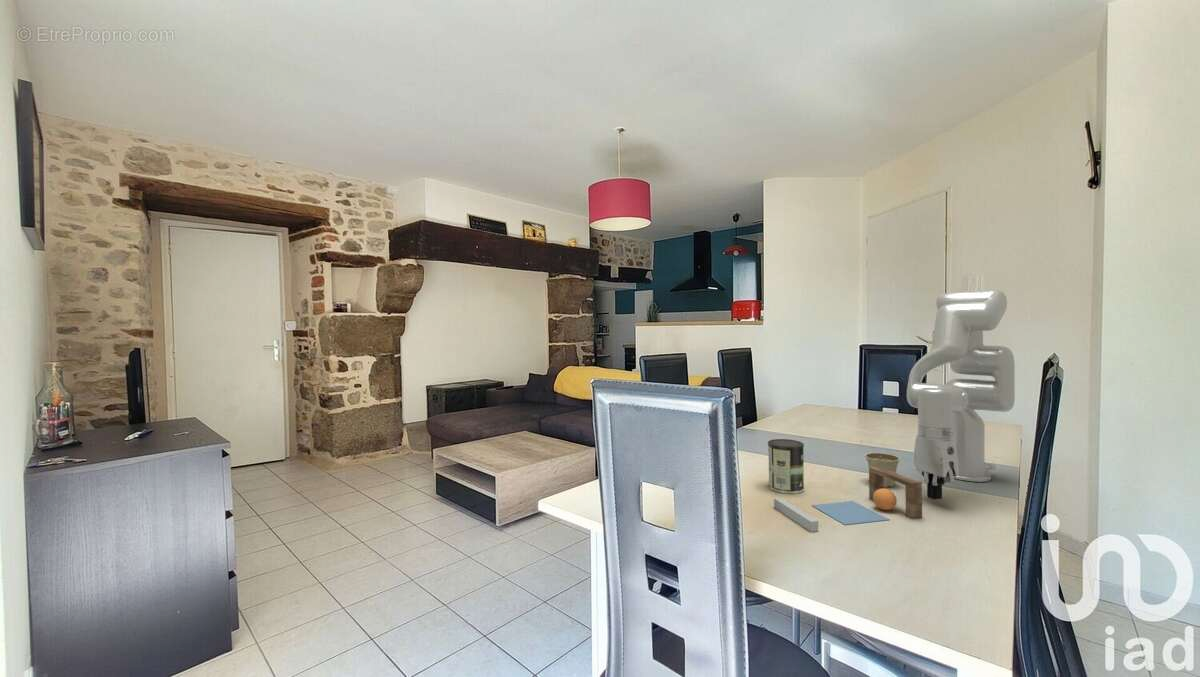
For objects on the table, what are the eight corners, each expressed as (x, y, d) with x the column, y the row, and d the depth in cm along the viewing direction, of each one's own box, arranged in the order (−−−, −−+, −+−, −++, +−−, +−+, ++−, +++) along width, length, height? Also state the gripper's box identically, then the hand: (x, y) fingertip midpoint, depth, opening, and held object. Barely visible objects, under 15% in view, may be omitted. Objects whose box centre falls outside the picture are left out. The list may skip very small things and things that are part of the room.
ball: (888, 499, 130) (880, 482, 129) (904, 506, 124) (897, 488, 124) (872, 509, 129) (865, 492, 128) (888, 517, 123) (880, 499, 123)
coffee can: (800, 483, 148) (799, 439, 148) (807, 494, 138) (807, 447, 138) (765, 481, 150) (765, 438, 150) (771, 493, 140) (770, 446, 140)
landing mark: (852, 501, 132) (852, 500, 132) (889, 520, 119) (889, 519, 119) (811, 505, 129) (811, 505, 129) (844, 525, 117) (844, 524, 117)
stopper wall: (780, 506, 129) (780, 497, 129) (818, 531, 114) (818, 520, 114) (774, 507, 129) (774, 498, 129) (810, 531, 113) (810, 521, 113)
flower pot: (869, 487, 143) (869, 459, 143) (861, 478, 152) (861, 451, 152) (904, 490, 140) (904, 461, 140) (894, 480, 149) (894, 453, 149)
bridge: (878, 497, 134) (878, 466, 134) (922, 517, 120) (922, 482, 120) (869, 498, 134) (869, 466, 134) (912, 519, 120) (912, 483, 119)
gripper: (972, 437, 122) (972, 507, 123) (922, 426, 137) (922, 488, 138) (948, 439, 121) (948, 509, 121) (900, 427, 136) (900, 490, 136)
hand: (934, 498), depth 129 cm, fingers closed
